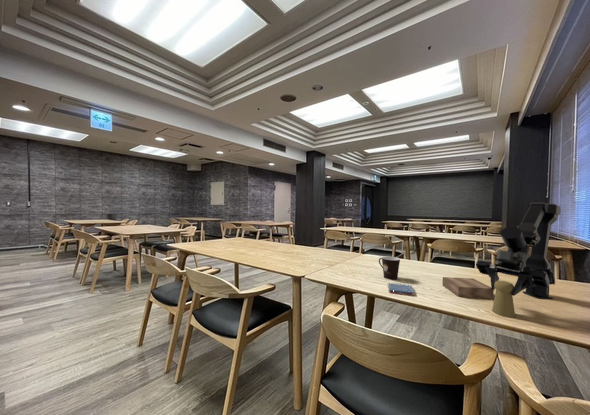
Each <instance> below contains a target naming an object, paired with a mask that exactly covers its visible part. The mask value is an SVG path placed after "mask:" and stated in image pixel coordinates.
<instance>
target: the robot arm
mask: <svg viewBox="0 0 590 415" xmlns="http://www.w3.org/2000/svg"><path fill="white" fill-rule="evenodd" d="M561 210H562V209H561V206H560V205H557V204H556V203H545V202H531V203H529V204H528V210H527V211H526V213H525V215H524V217H523V219H522V221H521V223H519V224H518V225H517V224H510V225H509V226H507V227H504V228H503V229H502V230H500V233H499V234H500V236H501V238H502V241H503V243H504V245H505V247H507V250H500V249H499V250H497V252H496V257H495V260H497V261H498V262H497V264H498V265H499V266H497V265H495V264H492V262H491V261H488V260H483V259H478V260H477V261H476V263H475V266H476V268H477V270H478V272H479V273H480V274H482V275H486V276H488V277H489V278H490V285H491V286H490V287H491V289H492V290H494V291H495V290H496V289H495V287H494V283H495V282H496V281H500V276H499V275H498V274H499V273H500V274H503V275H506V276H507V275H508V276H512V277H517V280H516V282H515V285H513V286H514V288H513V290H512V297H514V296H516V295H517V294H519V293H521V292H522V293H523V294H525V295H528V296H531V297H534V298H536V299H554V297H553V296H551V295H550V286H551V285H556V277H555V273H554V272H553V269H552V265H551V263H550V262H549V261H548V259H547V256H548V255H547V254H548V250H549V249H548V248H549V241H550V234H551V228H552V225H553V224H554V223H555V222H556V221H558V218H559V216H560V214H561ZM529 246H531V248H530V247H529ZM530 251H531V252H530ZM524 290H525V291H524Z"/></svg>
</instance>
